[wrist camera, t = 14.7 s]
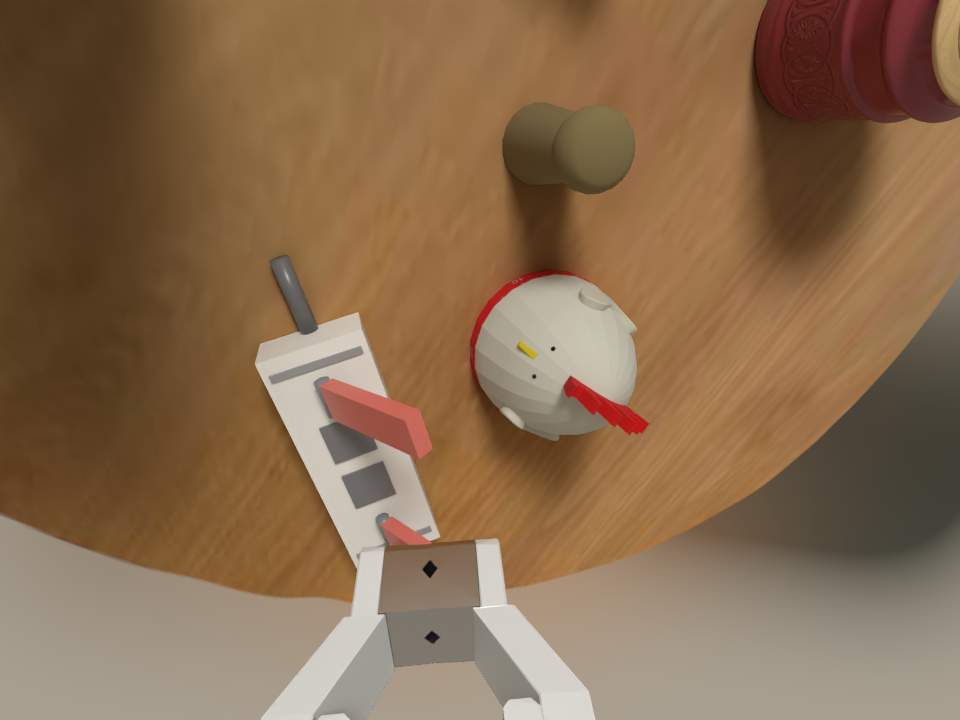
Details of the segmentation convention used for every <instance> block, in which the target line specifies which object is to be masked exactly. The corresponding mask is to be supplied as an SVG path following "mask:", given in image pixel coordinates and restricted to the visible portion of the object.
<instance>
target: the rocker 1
mask: <svg viewBox="0 0 960 720" xmlns="http://www.w3.org/2000/svg"><path fill="white" fill-rule="evenodd" d="M313 384H314V386H315V389H316V391H317V393H318V395H319V398H320V400H321V402H322V404H323V406H324V409H325V411H326V413H327V415H328V417H329V418H331V419H333V420H334V421H337V422H339V423H341V424H343V425H345V426H347V427H350V428H352V429H354V430H356V431H358V432H360V433H363V434H365V435H367V436H369V437H371V438H373V439H376V440H378V441H380V442H382V443H384V444H387V445H389V446H391V447H393V448H395V449H397V450H400V451H402V452H404V453H406V454H408V455H410V456H413V457H415V458H417V459H421V458H422V457H423V456H424V455H425V454H427V453H428V452H429V451H430V450H432V449H433V447H432V444H431V441H430V438H429V436H428V433H427V430H426V427H425V424H424V421H423V418H422V415H421V412H420V410H419V409H416V408H413V407H410V406H408V405H405V404H402V403H399V402H397V401H394V400H391V399H388V398H385V397H383V396H380V395H377V394H374V393H372V392H369V391H366V390H363V389H361V388H358V387H355V386H352V385H350V384H347V383H344V382H341V381H338V380H336V379H333V378H332V379H330V378H329V377H327V376H325V377H321V378H319V379H317V380H315V381H314V383H313Z"/></svg>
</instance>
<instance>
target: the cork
mask: <svg viewBox="0 0 960 720" xmlns="http://www.w3.org/2000/svg"><path fill="white" fill-rule="evenodd" d="M634 153H635V139H634V134H633V130H632V128H631V126H630V124H629V122H628V120H627V119H626V118H625V117H624V116H623V115H622V114H621V113H620V112H618V111H617V110H615V109H612V108H610V107H607V106H604V105H601V106H587V107H584V108H582V109H579V110H577V111H575V112H574V111H570V110H567V109H564V108H561V107H557V106H554V105H551V104H548V103H533V104H530V105H528V106H526V107H523V108H522V109H521V110H519V111H518V112H517V113H516V114H515V115H514V116H513V117H512V119H511V120H510V122H509V123H508V125H507V127H506V130H505V133H504V137H503V156H504V159H505V163H506V166H507V167H508V169H509V170H510V172H511V173H512V175H513V176H514V177H516V178H517V179H518V180H520V181H521V182H523V183H526V184H529V185H548V184H561V183H564V184H565V185H567V186H568V187H569V188H570V189H572V190H574V191H578V192H581V193H584V194H598V193H602V192H604V191H607V190H609V189H611V188H613V187H614V186H616V185H617V184H618V183H619V182H620V181H622V180H623V178H624V177H625V175H626V174H627V172H628V171H629V169H630V167H631V164H632V161H633V158H634Z"/></svg>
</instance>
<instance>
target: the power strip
mask: <svg viewBox="0 0 960 720" xmlns="http://www.w3.org/2000/svg"><path fill="white" fill-rule="evenodd" d="M269 262H270V265H271V267H272V269H273V271H274V274H275V276H276V278H277V281H278V283H279V285H280V287H281V290H282V292H283V294H284V297H285V299H286V301H287V303H288V306H289V308H290V310H291V312H292V315H293V317H294V319H295V322H296V324H297V326H298V328H299V331H298V332H295V333H292V334H289V335H286V336H283V337H280V338H277V339H274V340H270V341H267V342H264V343H261V344H260V346H259V350H258V354H257V358H256V361H255V366H256V368H257V370H258V372H259V374H260V376H261V378H262V380H263V382H264V384H265V386H266V388H267V390H268V392H269V394H270V396H271V398H272V400H273V402H274V404H275V406H276V408H277V410H278V412H279V414H280V416H281V418H282V420H283V422H284V424H285V426H286V428H287V430H288V432H289V434H290V436H291V438H292V440H293V442H294V444H295V446H296V448H297V450H298V452H299V454H300V456H301V458H302V460H303V462H304V464H305V466H306V468H307V470H308V472H309V474H310V476H311V478H312V480H313V482H314V484H315V486H316V488H317V490H318V492H319V494H320V496H321V498H322V500H323V502H324V504H325V506H326V508H327V510H328V512H329V514H330V516H331V518H332V520H333V522H334V524H335V526H336V528H337V530H338V532H339V534H340V536H341V538H342V540H343V542H344V544H345V546H346V548H347V550H348V552H349V554H350V556H351V558H352V560H353V562H354V564H355V566H356V568H357V569H358V562H359V556H360V552H361V550H362V547H377V546H387V545H386V543H385V541H384V539H383V537H382V534H381V532H380V530H379V528H378V525H377V523H376V521H375V519H376V517H377V516H378V515H379V514H381V513H388V514H389V517H391V516H392V517H394V518H395V519H397V520H398V521H400V522H401V523H403V524H405V525H406V526H408V527H409V528H411V529H412V530H414V531H415V532H417V533H418V534H420V535H421V536H423V537H424V538H426V539H427V540H429V541H432V540H434V539H437V538H439V537H440V535H439V531H438V528H437V525H436V521H435V518H434V515H433V511H432V508H431V506H430V503H429V500H428V498H427V495H426V492H425V490H424V487H423V484H422V482H421V479H420V476H419V473H418V471H417V468H416V465H415V463H414V460H413V457H412V456H410V455H408V454H406V453H404V452H402V451H400V450H397V449H395V448H393V447H391V446H389V445H387V444H384V443H382V442H380V441H378V440H376V439H373V438H371V437H369V436H367V435H365V434H363V433H360V432H358V431H356V430H354V429H352V428H350V427H347V426H345V425H343V424H341V423H339V422H337V421H334V420H333V419H331V418H329V417H328V415H327V413H326V411H325V409H324V406H323V404H322V402H321V400H320V398H319V395H318V393H317V391H316V389H315V386H314V384H313V383H314V381H315V380H317V379H319V378H321V377H325V376H327V377H329V378H330V379H332V378H333V379H336V380H338V381H341V382H344V383H347V384H350V385H352V386H355V387H358V388H361V389H363V390H366V391H369V392H372V393H374V394H377V395H380V396H383V397H385V398H388V399H390V396H389V393H388V391H387V388H386V385H385V382H384V380H383V377H382V374H381V372H380V369H379V366H378V364H377V361H376V358H375V356H374V353H373V350H372V348H371V345H370V342H369V340H368V337H367V334H366V332H365V329H364V326H363V324H362V321H361V318H360V316H359V313H358V312H357V313H354V314H351V315H348V316H345V317H341V318H338V319H335V320H332V321H329V322H326V323H323V324H320V325H317V323H316V321H315V319H314V316H313V314H312V311H311V309H310V307H309V304H308V302H307V299H306V297H305V295H304V292H303V290H302V288H301V285H300V283H299V280H298V278H297V276H296V273H295V271H294V268H293V266H292V264H291V261H290V259H289V257H288V255H284V256H279V257H276V258H274V259H272V260H270V261H269Z"/></svg>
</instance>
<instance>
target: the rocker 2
mask: <svg viewBox="0 0 960 720" xmlns="http://www.w3.org/2000/svg"><path fill="white" fill-rule="evenodd" d="M375 521H376V523H377V525H378V528H379V530H380V532H381V534H382V537H383V539H384V541H385V543H386V545H387V546H396V545H420V544H431V543H432V542H430V541H429V540H427V539H426V538H424V537H423V536H421V535H420V534H418V533H417V532H415V531H414V530H412V529H411V528H409V527H408V526H406V525H405V524H403V523H401V522H400V521H398V520H397V519H395V518H394V517H392V516H391V517H389V514H388V513H381V514H379V515H378V516H377V517H376V519H375Z"/></svg>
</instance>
